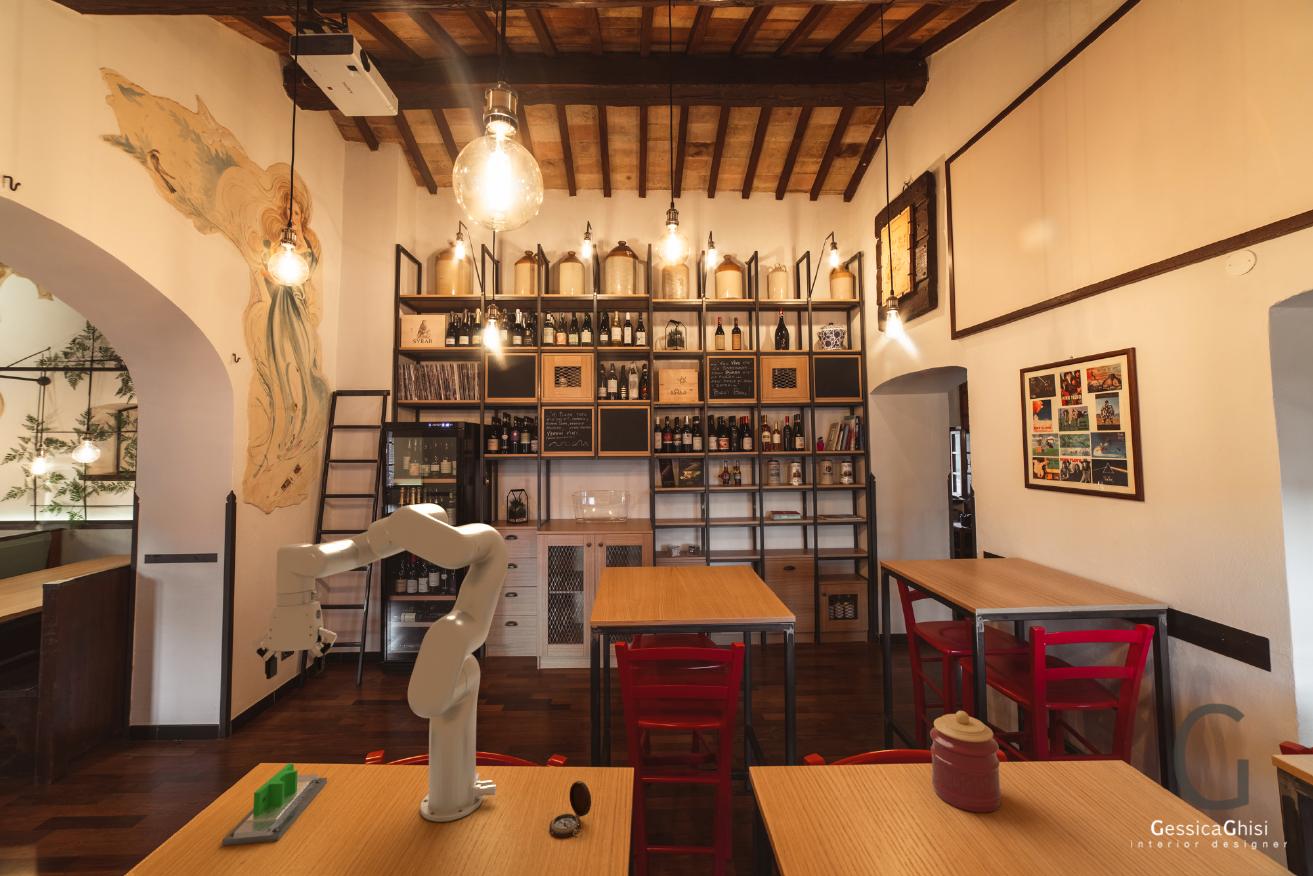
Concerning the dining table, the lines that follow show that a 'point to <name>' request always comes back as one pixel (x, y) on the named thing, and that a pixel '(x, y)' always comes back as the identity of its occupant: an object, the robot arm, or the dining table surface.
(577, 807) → the compass
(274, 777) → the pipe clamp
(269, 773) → the dining table surface
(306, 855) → the dining table surface
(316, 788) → the grey framed panel
